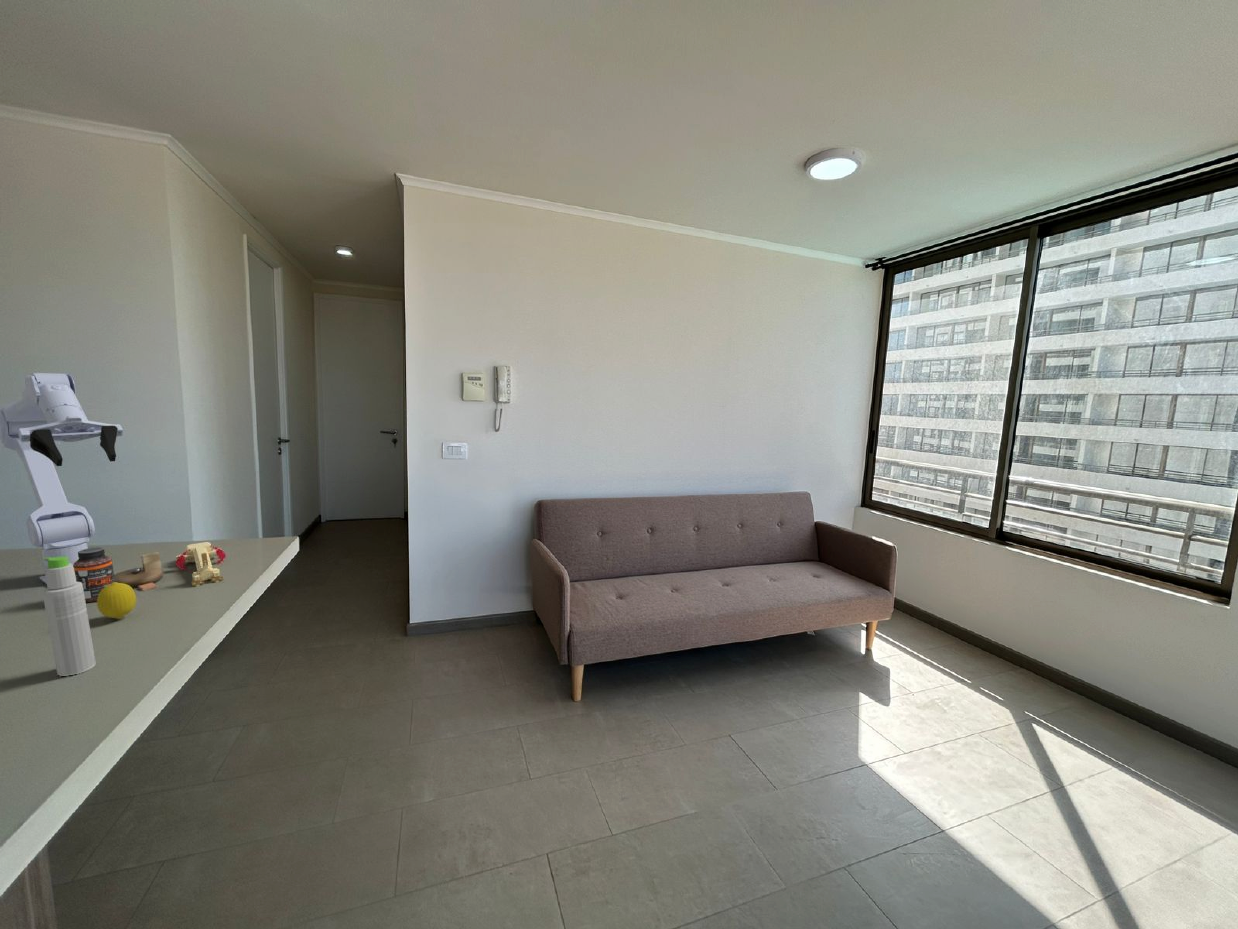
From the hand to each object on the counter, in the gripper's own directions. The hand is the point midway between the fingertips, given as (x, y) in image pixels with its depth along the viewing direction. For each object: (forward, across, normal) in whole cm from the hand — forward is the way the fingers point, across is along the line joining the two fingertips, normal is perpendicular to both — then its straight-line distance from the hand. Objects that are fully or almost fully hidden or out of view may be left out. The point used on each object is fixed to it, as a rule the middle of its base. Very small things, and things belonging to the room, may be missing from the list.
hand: (87, 460), depth 99 cm
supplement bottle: (+15, 0, +30) cm, 33 cm away
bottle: (+42, -11, +7) cm, 44 cm away
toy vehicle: (+15, +20, +30) cm, 39 cm away
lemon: (+28, -1, +18) cm, 34 cm away
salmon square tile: (+17, +8, +28) cm, 34 cm away
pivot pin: (+11, +8, +30) cm, 33 cm away
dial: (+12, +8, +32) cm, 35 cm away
